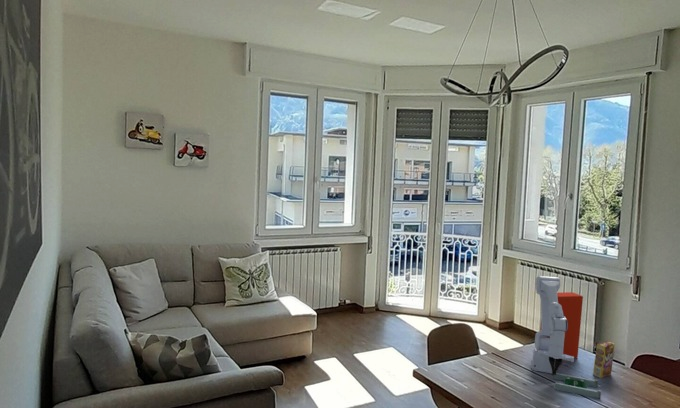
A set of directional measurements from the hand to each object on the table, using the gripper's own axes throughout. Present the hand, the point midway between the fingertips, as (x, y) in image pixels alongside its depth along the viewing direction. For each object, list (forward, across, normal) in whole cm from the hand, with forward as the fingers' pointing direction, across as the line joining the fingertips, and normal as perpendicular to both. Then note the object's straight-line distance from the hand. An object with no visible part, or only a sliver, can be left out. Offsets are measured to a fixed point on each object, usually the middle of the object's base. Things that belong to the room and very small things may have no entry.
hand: (553, 374), depth 215 cm
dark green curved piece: (+4, +9, -2) cm, 10 cm away
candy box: (+4, +22, +21) cm, 30 cm away
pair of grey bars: (+4, +9, 0) cm, 10 cm away
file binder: (+4, +3, +36) cm, 37 cm away
